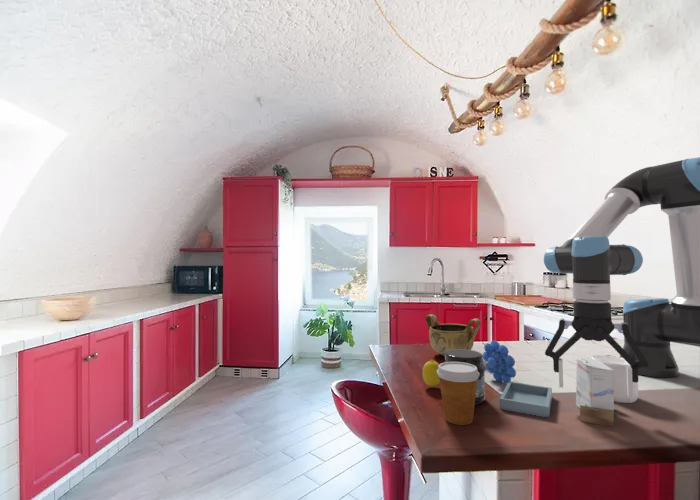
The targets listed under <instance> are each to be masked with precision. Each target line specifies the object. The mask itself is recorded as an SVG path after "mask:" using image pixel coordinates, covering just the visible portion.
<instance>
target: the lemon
mask: <svg viewBox="0 0 700 500" xmlns="http://www.w3.org/2000/svg"><path fill="white" fill-rule="evenodd" d="M439 365H440V363H438V362H437V361H435V360H434V359H430V360H429V361H427V362H425V364H424V365H423V366H422V367H423V368H422V379H423V381H424V383H425V384H426V385H428V386H429V387H430V388H432V389H434V388H435V387H436V386H438V385H440V381H439V376H438V374H437V369H438V367H439Z"/></svg>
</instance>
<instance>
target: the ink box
mask: <svg viewBox="0 0 700 500" xmlns="http://www.w3.org/2000/svg"><path fill="white" fill-rule="evenodd" d="M575 374H576V377H575V379H576V383H575V384H576V385H575V386H576V387H575V391H576V392H575V398H576V399H575V406H577V408H579V409H580V405H581V406H588V407H594V408H600V409H606V410H612V413H613V422H614V421H615V420H614V419H615V418H614V417H615V415H614V414H615V413H614V411H615V410H614V409H615V407H614V406H615V405H614V404H615V401H614V370H613V369H611V368H609V367H608V366H606V365H605V364H603V363H602V362H600V361H598V360H592V359H587V358H585V359H584V358H577V359H576V373H575Z"/></svg>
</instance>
